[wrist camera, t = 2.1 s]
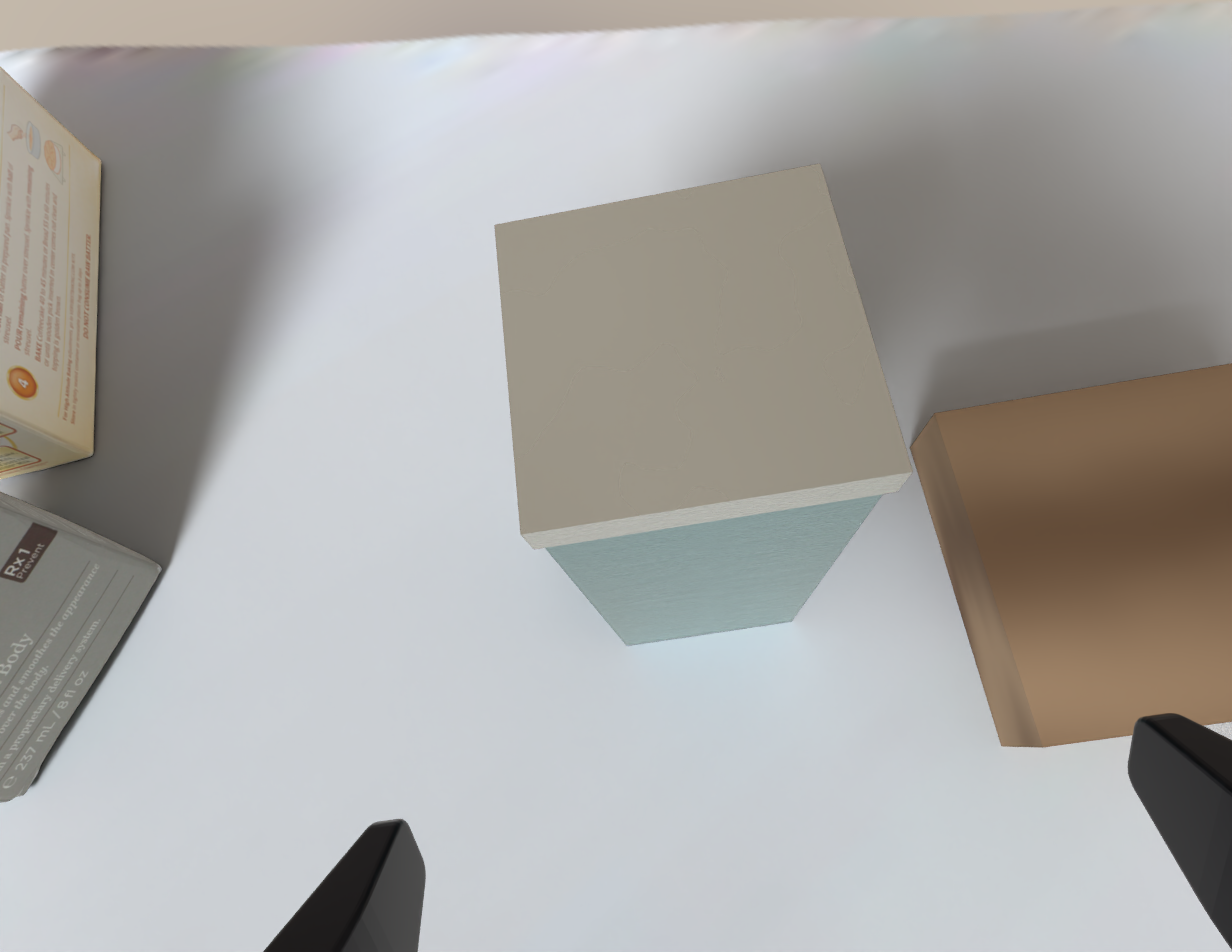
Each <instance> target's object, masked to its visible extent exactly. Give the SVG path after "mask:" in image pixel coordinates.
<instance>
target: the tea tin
mask: <svg viewBox="0 0 1232 952" xmlns="http://www.w3.org/2000/svg"><path fill="white" fill-rule="evenodd" d="M495 237H496V249H497V261H498V272H499V284H500V296H501V308H502V320H503V332H504V343H505V355H506V367H507V379H508V391H509V403H510V414H511V426H512V438H513V450H514V462H515V474H516V486H517V497H518V509H519V521H520V533H521V536H522V537H523V538H524V539H525V540H526V541H527V542H528V543H529V545H530V546H531V547H532V548H533V549H534V550H535V549H541V548H546V550H547V551H548V552H549V553H550V554H551V556H552V557H553V558H554V559H555V560H556V562H557V563H558V564H559V565H560V566H561V568H562V569H563V570H564V571H565V572H566V574H567V575H568V576H569V577H570V578H571V580H572V581H573V582H574V583H575V584H576V586H577V587H578V588H579V589H580V590H581V592H582V593H583V594H584V595H585V596H586V598H587V599H588V600H589V601H590V602H591V604H592V605H593V606H594V607H595V608H596V610H597V611H598V612H599V613H600V614H601V616H602V617H603V618H604V619H605V620H606V622H607V623H608V624H609V625H610V626H611V628H612V629H613V630H614V631H615V632H616V634H617V635H618V636H619V637H620V638H621V640H622V641H623V642H624V643H625V644H626V646H630V645H637V644H644V643H650V642H657V641H664V640H671V639H677V638H684V637H691V636H698V635H704V634H711V633H718V632H724V631H731V630H738V629H745V628H751V627H758V626H765V625H772V624H778V623H785V622H792V620H793V619H794V617H795V616H796V615H797V613H798V612H799V610H800V609H801V608H802V606H803V605H804V603H805V602H806V601H807V599H808V598H809V596H810V595H811V594H812V592H813V591H814V589H815V588H816V587H817V585H818V584H819V583H820V581H821V580H822V578H823V577H824V576H825V574H826V573H827V571H828V570H829V569H830V567H831V566H832V564H833V563H834V562H835V560H836V559H837V557H838V556H839V555H840V553H841V552H842V550H843V549H844V548H845V546H846V545H847V544H848V542H849V541H850V539H851V538H852V537H853V535H854V534H855V532H856V531H857V530H858V528H859V527H860V525H861V524H862V523H863V521H864V520H865V518H866V517H867V516H868V514H869V513H870V511H871V510H872V509H873V507H874V506H875V505H876V503H877V502H878V500H879V499H880V498H881V496H882V495H883V494H888V493H894V492H898V491H899V489H900V488H901V487H902V486H903V484H904V483H905V482H906V480H907V479H908V478H909V476H910V475H911V474H912V473H913V470H912V467H911V464H910V460H909V457H908V454H907V450H906V447H905V444H904V440H903V437H902V434H901V430H900V427H899V424H898V420H897V417H896V414H895V410H894V407H893V404H892V400H891V397H890V394H889V390H888V387H887V384H886V381H885V377H884V374H883V371H882V367H881V364H880V361H879V357H878V354H877V351H876V347H875V344H874V341H873V337H872V334H871V331H870V327H869V324H868V321H867V317H866V314H865V311H864V307H863V304H862V301H861V297H860V294H859V291H858V287H857V284H856V281H855V277H854V274H853V271H852V267H851V264H850V261H849V257H848V254H847V251H846V248H845V244H844V241H843V238H842V234H841V231H840V228H839V224H838V221H837V218H836V214H835V211H834V208H833V204H832V201H831V198H830V194H829V191H828V188H827V184H826V181H825V178H824V174H823V171H822V168H821V164H814V165H809V166H804V167H799V168H793V169H788V170H783V171H777V172H772V173H767V174H762V175H756V176H751V177H746V178H740V179H735V180H730V181H724V182H719V183H714V184H709V185H703V186H698V187H693V188H687V189H682V190H677V191H672V192H666V193H661V194H656V195H650V196H645V197H640V198H635V199H629V200H624V201H619V202H613V203H608V204H603V205H597V206H592V207H587V208H582V209H576V210H571V211H566V212H560V213H555V214H550V215H545V216H539V217H534V218H529V219H523V220H518V221H513V222H507V223H502V224H497V225H495Z"/></svg>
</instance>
